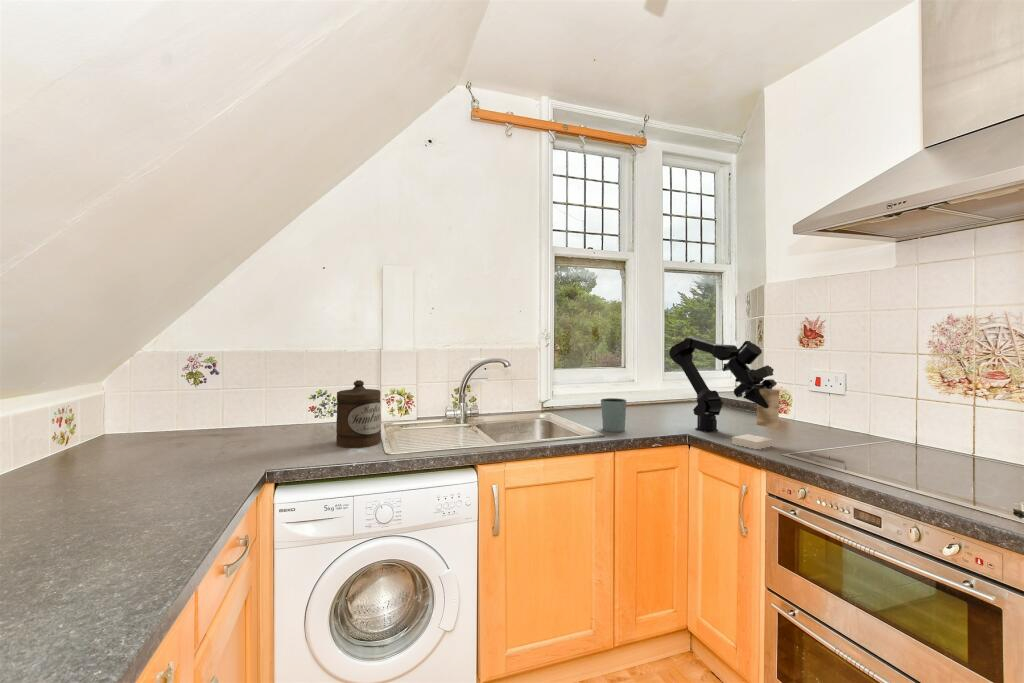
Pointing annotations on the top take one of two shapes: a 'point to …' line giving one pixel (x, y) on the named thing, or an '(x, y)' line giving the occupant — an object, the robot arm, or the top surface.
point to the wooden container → (358, 417)
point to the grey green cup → (613, 414)
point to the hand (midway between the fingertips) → (771, 407)
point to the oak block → (770, 414)
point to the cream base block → (752, 441)
